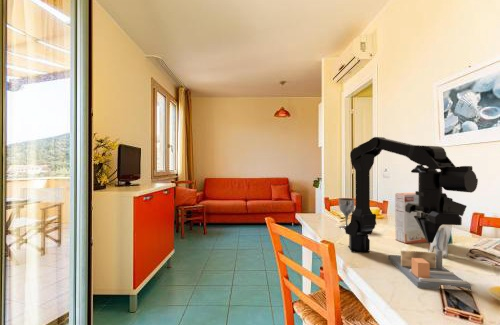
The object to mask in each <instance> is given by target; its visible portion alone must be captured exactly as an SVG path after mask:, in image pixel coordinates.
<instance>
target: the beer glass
mask: <svg viewBox="0 0 500 325" xmlns="http://www.w3.org/2000/svg"><path fill="white" fill-rule="evenodd" d="M452 227H453V225H441V226H440V227H439V229H438V231H437V233H436V236H435V238H434V241H433V243H429V247H428V250H427V252H434V253H436V250H442V258H449V250H448V249H449V248H448V247H449V241H450V238H451V234H452Z"/></svg>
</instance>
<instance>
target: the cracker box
mask: <svg viewBox="0 0 500 325" xmlns="http://www.w3.org/2000/svg"><path fill="white" fill-rule="evenodd" d="M394 200H395V201H394V203H395V204H394V209H395V210H394V212H395V213H394V214H395V217H394V218H395V241H397V240H398V242H400V241H401V242H400V243H403V242H404V244H415V243H428V242H427V240H426V238H425V236H424V234H423V232H422V230H421V228H420V226H419V225H418V223H417V221H416V219H415V218H414V216H417V212H411V213H408V212H406V211H405V206H406V205H407V204H408V203H418V195H416V192H400V193H399V192H396V193H395V194H394Z"/></svg>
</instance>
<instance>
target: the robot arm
mask: <svg viewBox="0 0 500 325" xmlns="http://www.w3.org/2000/svg"><path fill="white" fill-rule="evenodd" d="M382 151H386V152H388V153H392V154H396V155H400V156H403V157H406V158H408V159H409V160H410V161H412V162H414V163H415V164H417V165H416V166H415V167H414V168H412V170H411V171H410V172H411V174H413V173H414V174H418V180H417V181H418V184H417V185H418V186H417V187H418V190H417V191H415V193H416V195H418V203H408V204H407V205H406V206H405V211H406V212H408V213H411V212H417V216H414V218H415V219H416V221H417V223H418V225H419V226H420V228H421V230H422V232H423V234H424V236H425V238H426V240H427V242H426V243H429V244H430V243H433V241H434V238H435V236H436V233H437V231H438V229H439V227H440V226H441V225H452V226H462V225H463V224H462V223H463V222H462V221H463V220H462V218H463V216H464V214H465V212H466V208H467V205H465V204H463V203H460V202H456V201H454V200H453V198H452V197H448V195H447V193H445V192H443V190H445V191H449V192H461V193H474V192H475V191H476V189H477V187H478V184H479V183H478V182H479V179H478V178H477V175H476V172H475V171H474V170H473V166H472V165H461V166H456V165H455V164H454V163H453V161H452V160H451V159H450V158H449V156H448V155H447V151H446V150H445V148H444V147H442V146H439V145H437V146H436V145H419V144H411V143H406V142H402V141H397V140H393V139H389V138H386V137H382V136H381V137H380V136H374V137H372V138H370V139H369V140H368V141H366V142H363V143H361V144H359V145H357V147H356V146H355V147H353V149H352V150H351V151H350V156H349V157H350V164H351V166H352V167H353V169H354V172H355V176H354V178H355V207H354V209H353V211H352V212H351V214H350V215H351V216H350V222H349V223H348V224H347V225H348V226H347V227H346V228H345V229H344V231H345V234H346V235H348V238H349V239H348V246H347V248H348V249H349V250H350V251H351V253H360V254H361V253H364V254H370V251H369V250H370V249H371V248H370V245H371V244H370V242H371V240H370V239H369V235H372V234H373V231H374V229H375V228H376V226H377V214H376V213H373V212H372V210H371V209H370V208H371V202H370V198H371V196H370V195H371V194H370V193H371V192H370V191H371V190H370V189H371V188H370V186H371V185H370V182H371V181H370V171H371V169H372V168H373V165H374V163H375V158H376V157H377V156H379V155H380V154H381V152H382ZM425 166H426V167H425ZM439 170H440V171H439Z"/></svg>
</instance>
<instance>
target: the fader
mask: <svg viewBox="0 0 500 325" xmlns="http://www.w3.org/2000/svg"><path fill="white" fill-rule="evenodd" d="M411 272H412V273H413V274H414V275H415V276H416V277H418V278H430V263H428V262H427V261H426V260H424V259H423V258H412V267H411Z"/></svg>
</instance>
